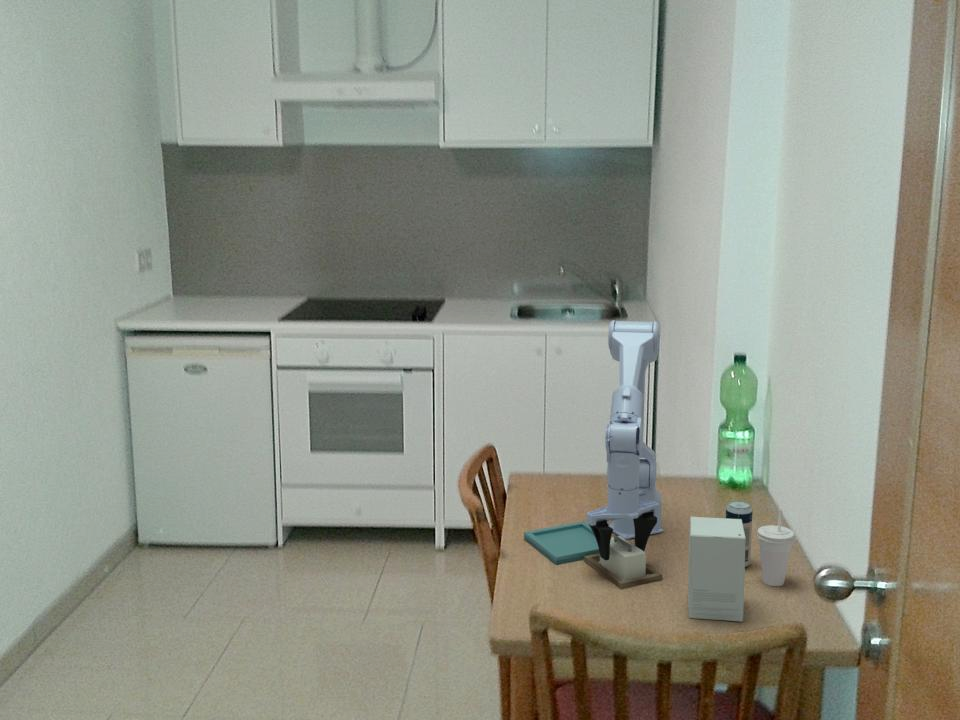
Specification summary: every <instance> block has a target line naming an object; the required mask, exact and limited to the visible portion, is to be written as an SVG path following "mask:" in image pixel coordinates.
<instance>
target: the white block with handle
mask: <svg viewBox="0 0 960 720" xmlns="http://www.w3.org/2000/svg"><path fill="white" fill-rule="evenodd" d="M646 559H647V552H645V551H642V550H641V549H639V548H638V547H636V546H635V544H633V543H631V542H630V541H629V540H628V539H624V538H622V537H621V536H619V535H614V536H611V541H610V557H609V560H604V559H603V558H601V557H600V560H599V563H600V564H601V565H602V566H604V567H605V568H607V569H608V570H609V571H611V572H612V573H613V574H615V575H616V576H617V577H619V578H620V579H622V580H627V579H632V578H637V577H641V576H646V574H647V573H646V564H647V561H646Z"/></svg>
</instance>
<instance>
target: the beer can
mask: <svg viewBox="0 0 960 720" xmlns="http://www.w3.org/2000/svg"><path fill="white" fill-rule="evenodd" d="M725 518H727V519H742V524H743V528H744V533H745V537H746V543H745V568H746V567H749V566H750V564H751V553H752V552H751V551H752V550H751V549H752V531H753V530H752V529H753V509H752V506H751V504H750V502H747V501H743V500H733V501H730V502H728V504H727V506H726V507H725Z"/></svg>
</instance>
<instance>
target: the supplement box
mask: <svg viewBox="0 0 960 720" xmlns="http://www.w3.org/2000/svg"><path fill="white" fill-rule="evenodd" d="M688 537H689V538H688V539H689V540H688V579H687V580H688V584H687V585H688V590H687V599H688V604H687V605H688V618H689V619H699V620H700V619H701V620H712V621H714V620H715V621H716V620H717V621H726V622H727V621H728V622H740V623H741V622H744V605H745V604H744V603H745V601H744V600H745V570H746V567H745V543H746V537H745V533H744V528H743V524H742V519H727V518H726V517H725V518H722V517H721V518H720V517H707V516H706V517H704V516H703V517H702V516H690V517H689V536H688Z"/></svg>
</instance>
